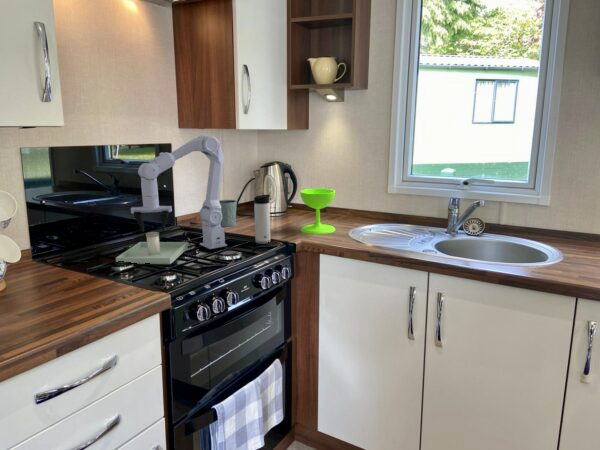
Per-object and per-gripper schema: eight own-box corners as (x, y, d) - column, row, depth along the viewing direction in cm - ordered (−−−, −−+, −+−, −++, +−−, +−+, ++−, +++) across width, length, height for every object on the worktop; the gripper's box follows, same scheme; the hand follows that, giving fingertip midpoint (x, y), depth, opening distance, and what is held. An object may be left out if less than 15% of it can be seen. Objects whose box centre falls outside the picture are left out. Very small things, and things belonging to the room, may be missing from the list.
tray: (140, 247, 194) (139, 242, 194) (188, 247, 193) (188, 242, 192) (116, 263, 173) (115, 257, 172) (170, 264, 171) (169, 258, 171)
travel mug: (269, 244, 196) (267, 196, 192) (253, 243, 198) (251, 195, 193) (272, 240, 202) (271, 193, 198) (257, 239, 204) (256, 193, 199)
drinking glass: (212, 226, 229) (210, 202, 226) (224, 222, 237) (223, 198, 235) (229, 228, 224) (228, 203, 221) (241, 224, 233) (240, 200, 230)
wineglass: (341, 231, 215) (341, 192, 211) (308, 235, 210) (308, 195, 206) (326, 224, 230) (326, 187, 226) (295, 228, 224) (294, 189, 220)
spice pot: (162, 253, 182) (160, 233, 180) (150, 256, 180) (148, 235, 178) (158, 251, 186) (156, 231, 184) (146, 253, 184) (144, 233, 182)
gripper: (171, 193, 183) (174, 227, 186) (132, 194, 181) (135, 229, 184) (169, 196, 176) (171, 232, 179) (128, 197, 174) (131, 233, 178)
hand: (153, 230), depth 181 cm, fingers open, 7 cm apart
